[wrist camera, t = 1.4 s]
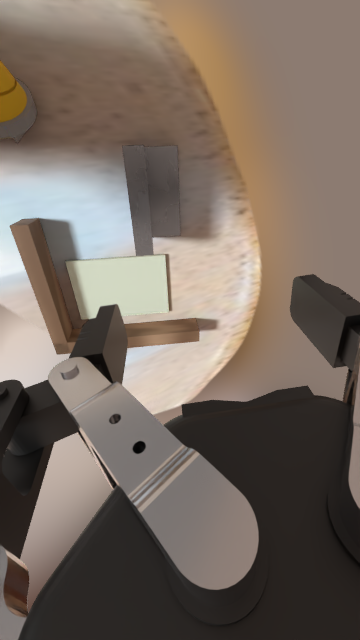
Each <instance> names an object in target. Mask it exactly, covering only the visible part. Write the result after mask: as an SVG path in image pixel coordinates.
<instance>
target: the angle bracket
mask: <svg viewBox="0 0 360 640" xmlns="http://www.w3.org/2000/svg"><path fill="white" fill-rule="evenodd" d="M122 148H123V156H124V164H125V172H126V179H127V187H128V195H129V203H130V211H131V219H132V226H133V234H134V242H135V250H136V256H146V255H154V254H153V240H152V237H166V236H180V206H179V177H178V147H177V146H154V147H144V145H129V146H122Z"/></svg>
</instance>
